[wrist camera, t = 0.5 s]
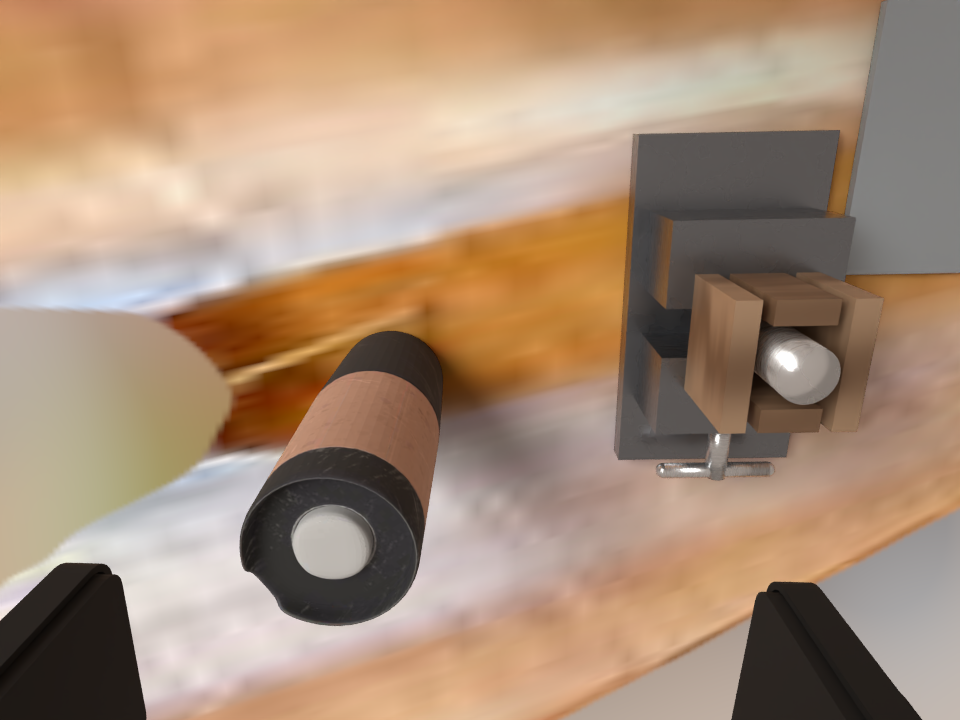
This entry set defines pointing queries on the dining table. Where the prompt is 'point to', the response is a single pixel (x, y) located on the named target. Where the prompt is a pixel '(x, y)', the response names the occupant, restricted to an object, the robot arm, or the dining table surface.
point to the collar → (734, 337)
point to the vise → (724, 250)
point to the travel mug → (352, 488)
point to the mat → (909, 145)
